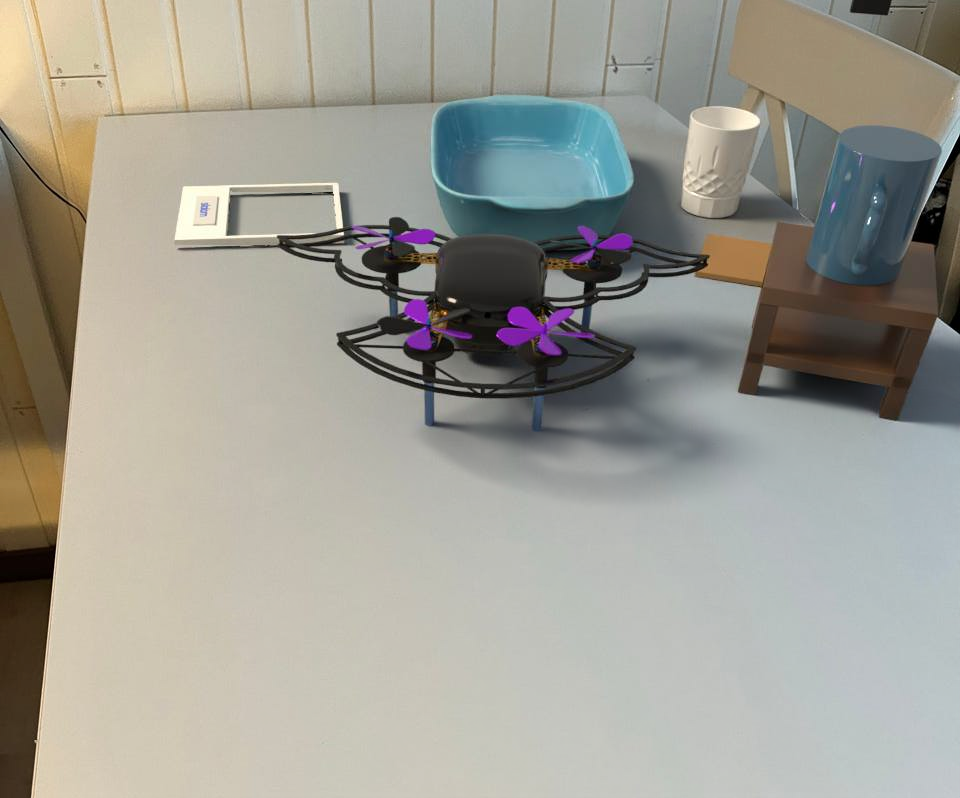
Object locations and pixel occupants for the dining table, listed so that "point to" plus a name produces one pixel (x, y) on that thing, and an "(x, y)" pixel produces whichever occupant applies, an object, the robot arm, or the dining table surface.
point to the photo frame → (209, 213)
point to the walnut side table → (842, 321)
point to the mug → (871, 204)
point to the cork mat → (735, 260)
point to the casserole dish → (529, 167)
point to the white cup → (717, 159)
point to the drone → (489, 303)
